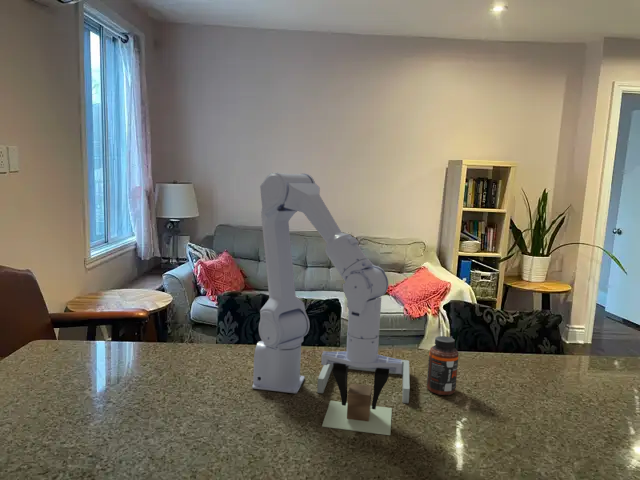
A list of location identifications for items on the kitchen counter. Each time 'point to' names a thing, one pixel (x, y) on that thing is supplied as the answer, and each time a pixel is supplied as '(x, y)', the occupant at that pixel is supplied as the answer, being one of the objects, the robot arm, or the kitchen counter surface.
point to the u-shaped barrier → (328, 368)
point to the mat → (376, 424)
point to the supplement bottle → (442, 366)
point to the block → (359, 402)
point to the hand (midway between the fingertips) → (359, 404)
